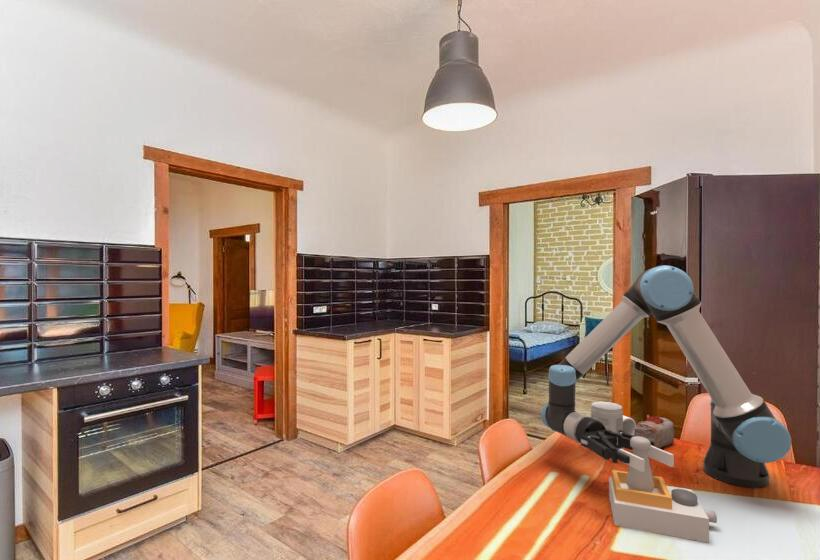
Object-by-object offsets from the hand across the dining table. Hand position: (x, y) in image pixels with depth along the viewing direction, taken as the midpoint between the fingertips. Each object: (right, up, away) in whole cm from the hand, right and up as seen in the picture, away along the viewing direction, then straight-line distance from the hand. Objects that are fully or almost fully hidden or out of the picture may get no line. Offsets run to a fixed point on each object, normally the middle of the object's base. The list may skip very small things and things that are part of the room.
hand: (658, 463), depth 97 cm
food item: (+27, -15, +49) cm, 58 cm away
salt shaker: (-2, -9, +4) cm, 10 cm away
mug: (+16, -15, +57) cm, 61 cm away
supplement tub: (+8, -15, +44) cm, 47 cm away
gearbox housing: (+2, -14, +3) cm, 15 cm away
